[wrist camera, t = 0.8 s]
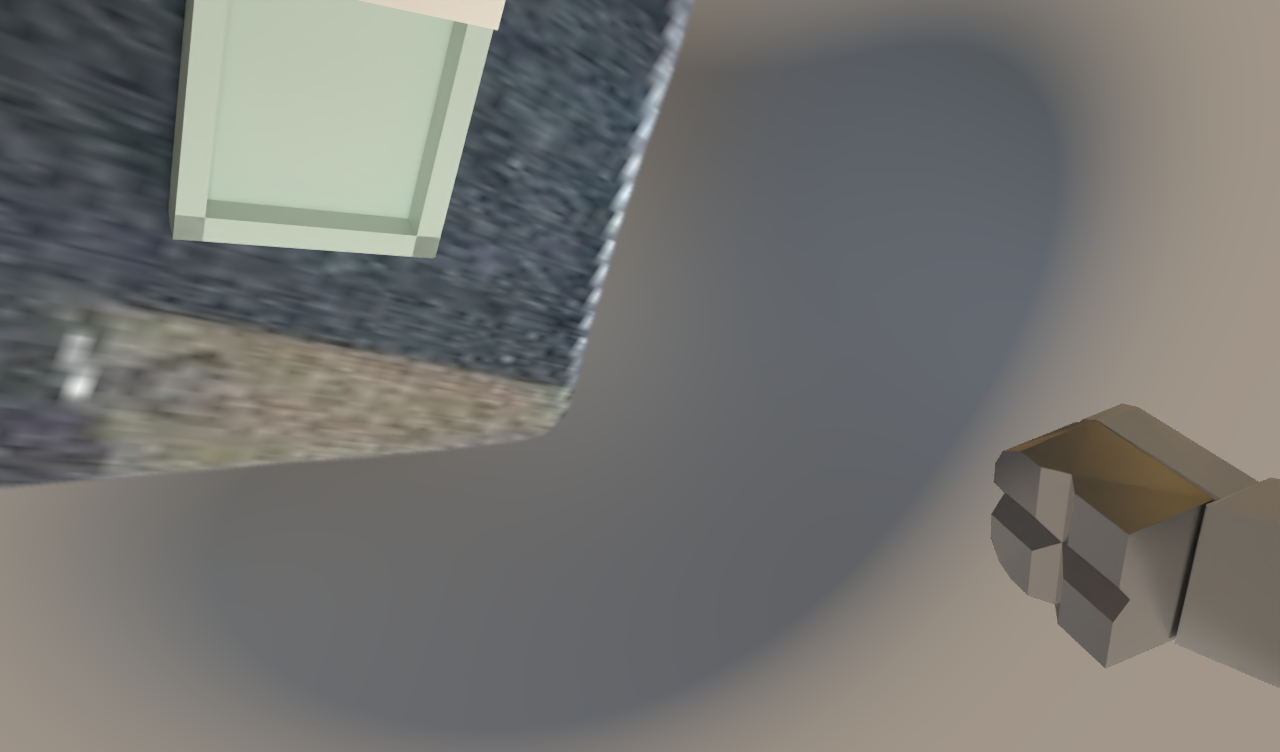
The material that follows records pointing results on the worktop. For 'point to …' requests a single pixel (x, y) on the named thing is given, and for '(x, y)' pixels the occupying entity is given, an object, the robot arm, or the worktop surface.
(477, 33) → the tray
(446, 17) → the board
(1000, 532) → the robot arm
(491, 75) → the worktop surface
